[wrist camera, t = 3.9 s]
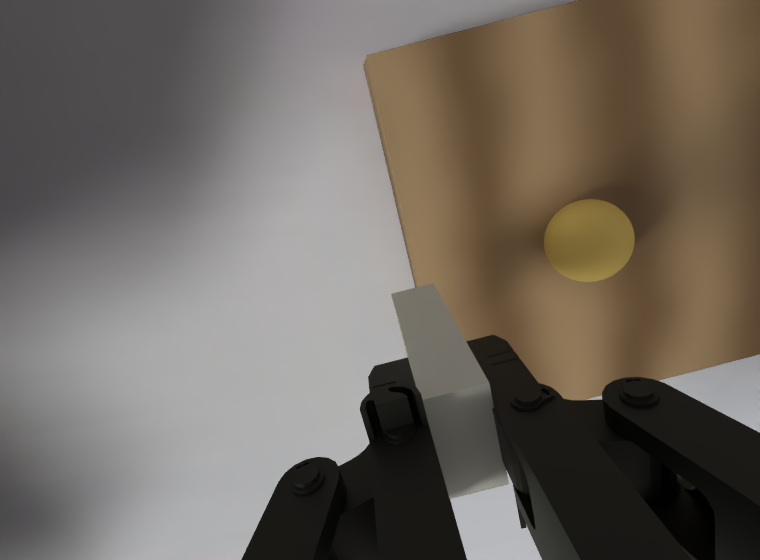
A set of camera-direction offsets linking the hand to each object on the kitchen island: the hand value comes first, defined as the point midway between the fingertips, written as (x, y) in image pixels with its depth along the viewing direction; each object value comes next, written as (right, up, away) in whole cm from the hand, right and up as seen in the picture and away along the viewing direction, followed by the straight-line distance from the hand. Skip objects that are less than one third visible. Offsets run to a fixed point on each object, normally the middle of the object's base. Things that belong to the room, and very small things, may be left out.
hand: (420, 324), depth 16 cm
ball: (+7, +3, +3) cm, 8 cm away
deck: (+14, +7, +7) cm, 18 cm away
